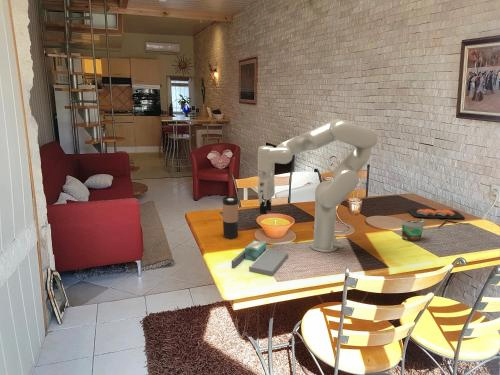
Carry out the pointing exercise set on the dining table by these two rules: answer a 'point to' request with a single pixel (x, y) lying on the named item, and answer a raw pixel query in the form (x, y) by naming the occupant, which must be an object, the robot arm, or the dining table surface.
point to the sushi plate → (436, 214)
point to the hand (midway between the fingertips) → (265, 211)
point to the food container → (412, 230)
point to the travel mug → (230, 217)
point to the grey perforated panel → (264, 261)
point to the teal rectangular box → (255, 249)
